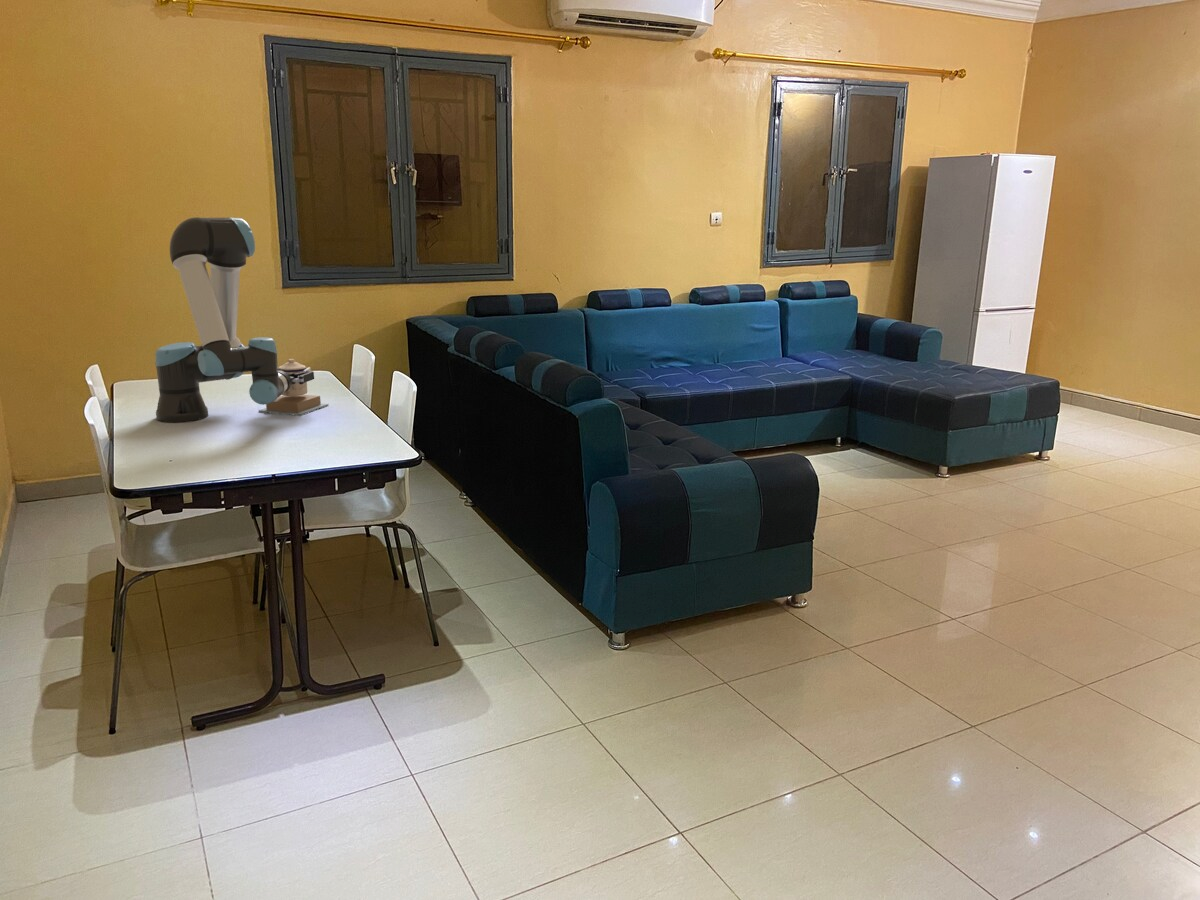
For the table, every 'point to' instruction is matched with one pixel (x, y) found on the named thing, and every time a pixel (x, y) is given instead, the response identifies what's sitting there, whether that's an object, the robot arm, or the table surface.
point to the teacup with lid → (294, 368)
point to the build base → (294, 404)
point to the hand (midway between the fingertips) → (294, 371)
